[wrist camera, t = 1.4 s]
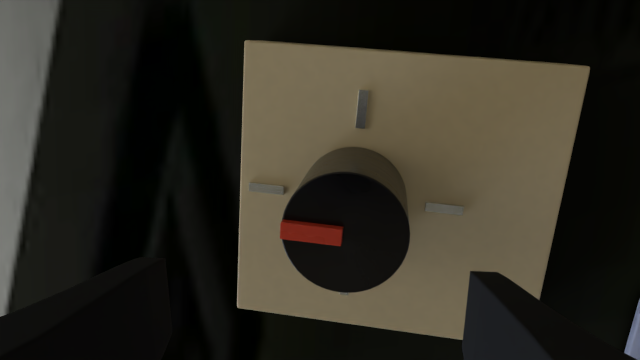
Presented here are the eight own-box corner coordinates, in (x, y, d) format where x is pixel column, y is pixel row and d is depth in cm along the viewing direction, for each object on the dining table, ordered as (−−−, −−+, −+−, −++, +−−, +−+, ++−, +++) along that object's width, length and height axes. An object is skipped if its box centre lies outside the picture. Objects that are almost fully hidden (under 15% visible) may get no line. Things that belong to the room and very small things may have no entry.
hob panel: (562, 63, 19) (593, 66, 16) (511, 310, 22) (530, 352, 19) (264, 40, 21) (242, 39, 18) (255, 276, 24) (235, 310, 21)
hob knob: (412, 152, 18) (418, 182, 14) (400, 252, 19) (402, 306, 15) (305, 141, 18) (281, 167, 14) (298, 240, 19) (275, 289, 16)
